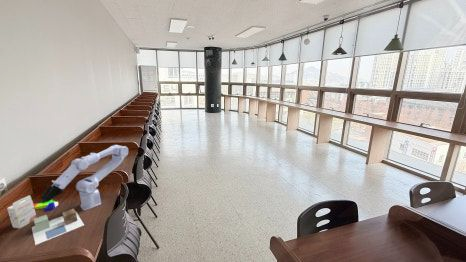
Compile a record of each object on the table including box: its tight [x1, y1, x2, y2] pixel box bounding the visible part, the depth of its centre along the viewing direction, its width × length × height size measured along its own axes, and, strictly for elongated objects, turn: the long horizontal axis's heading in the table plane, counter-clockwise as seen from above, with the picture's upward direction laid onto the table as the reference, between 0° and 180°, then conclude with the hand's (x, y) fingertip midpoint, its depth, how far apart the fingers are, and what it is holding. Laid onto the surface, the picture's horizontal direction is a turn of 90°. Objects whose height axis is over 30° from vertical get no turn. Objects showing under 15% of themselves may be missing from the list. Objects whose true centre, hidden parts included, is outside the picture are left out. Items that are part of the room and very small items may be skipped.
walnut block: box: [62, 208, 78, 225], centre depth 116 cm, size 5×5×5 cm
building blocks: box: [33, 199, 59, 212], centre depth 131 cm, size 15×13×4 cm
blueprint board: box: [31, 210, 85, 246], centre depth 112 cm, size 19×18×1 cm
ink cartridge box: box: [6, 195, 38, 229], centre depth 114 cm, size 9×5×15 cm, turn 168°
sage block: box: [33, 214, 50, 232], centre depth 111 cm, size 5×5×5 cm
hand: (44, 200), depth 110 cm, fingers open, 7 cm apart
